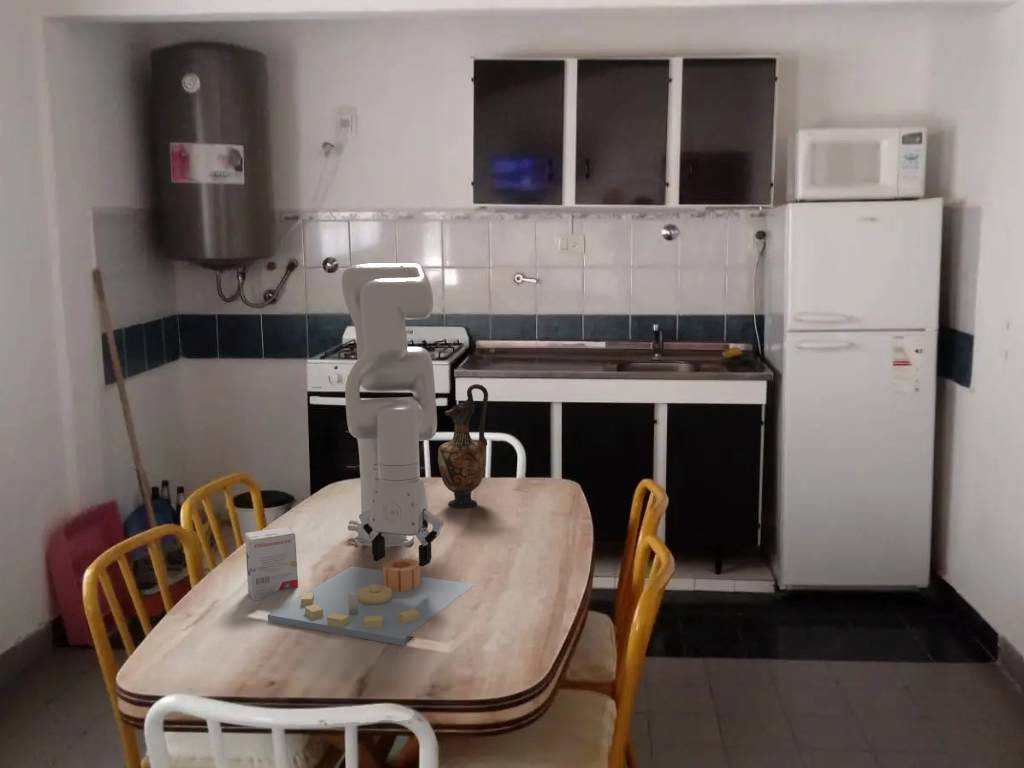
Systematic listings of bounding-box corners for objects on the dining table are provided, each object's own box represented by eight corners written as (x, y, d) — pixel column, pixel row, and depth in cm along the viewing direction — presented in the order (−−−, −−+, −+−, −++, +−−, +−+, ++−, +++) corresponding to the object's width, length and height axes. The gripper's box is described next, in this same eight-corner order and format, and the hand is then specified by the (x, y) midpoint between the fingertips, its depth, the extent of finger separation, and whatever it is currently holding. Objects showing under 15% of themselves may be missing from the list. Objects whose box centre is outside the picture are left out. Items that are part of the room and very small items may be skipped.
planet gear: (377, 588, 186) (376, 568, 186) (395, 577, 192) (394, 557, 192) (408, 593, 184) (408, 572, 183) (425, 581, 190) (425, 561, 189)
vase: (444, 497, 252) (442, 379, 248) (493, 499, 251) (491, 380, 246) (434, 510, 241) (431, 387, 236) (485, 512, 239) (483, 388, 234)
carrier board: (267, 621, 175) (266, 595, 174) (352, 571, 199) (351, 549, 198) (403, 645, 164) (402, 618, 163) (474, 590, 188) (474, 566, 188)
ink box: (292, 585, 192) (290, 525, 190) (299, 593, 188) (296, 532, 186) (246, 592, 188) (243, 532, 186) (252, 601, 184) (249, 539, 182)
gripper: (347, 472, 184) (351, 562, 187) (431, 479, 178) (433, 572, 180) (369, 464, 191) (372, 551, 193) (450, 470, 184) (452, 561, 186)
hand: (401, 561), depth 187 cm, fingers open, 9 cm apart
